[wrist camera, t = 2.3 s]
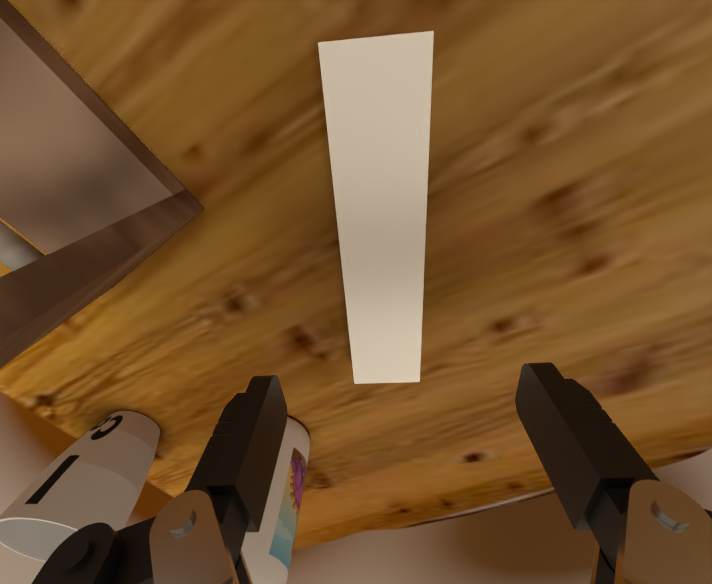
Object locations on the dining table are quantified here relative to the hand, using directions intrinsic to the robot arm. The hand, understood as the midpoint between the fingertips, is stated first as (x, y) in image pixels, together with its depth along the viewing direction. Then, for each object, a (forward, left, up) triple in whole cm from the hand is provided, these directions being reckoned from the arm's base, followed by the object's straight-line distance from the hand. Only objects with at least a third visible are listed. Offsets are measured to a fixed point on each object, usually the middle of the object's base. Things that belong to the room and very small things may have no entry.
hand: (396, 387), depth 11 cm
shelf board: (0, 0, -13) cm, 13 cm away
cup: (+18, -26, -13) cm, 34 cm away
